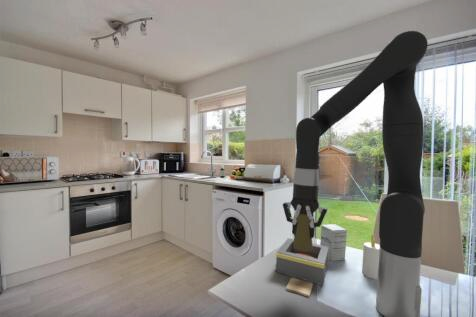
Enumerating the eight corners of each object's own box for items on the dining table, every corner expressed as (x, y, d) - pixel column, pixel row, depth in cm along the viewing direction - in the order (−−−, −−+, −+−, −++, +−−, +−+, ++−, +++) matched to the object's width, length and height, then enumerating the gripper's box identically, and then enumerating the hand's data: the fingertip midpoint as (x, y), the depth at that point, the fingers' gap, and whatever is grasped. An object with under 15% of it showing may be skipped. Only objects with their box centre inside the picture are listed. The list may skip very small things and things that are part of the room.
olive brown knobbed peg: (313, 252, 68) (315, 216, 68) (293, 249, 70) (294, 214, 69) (311, 244, 74) (313, 211, 74) (292, 242, 76) (294, 209, 75)
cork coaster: (312, 285, 74) (312, 283, 74) (309, 297, 68) (309, 295, 68) (291, 279, 77) (291, 277, 77) (286, 289, 71) (286, 287, 71)
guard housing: (327, 264, 89) (328, 246, 89) (323, 285, 74) (324, 264, 74) (286, 254, 96) (287, 238, 96) (275, 272, 81) (276, 252, 81)
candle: (386, 276, 82) (388, 235, 81) (375, 280, 79) (377, 237, 78) (369, 268, 87) (371, 229, 87) (358, 271, 84) (360, 231, 84)
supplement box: (319, 253, 99) (320, 224, 98) (333, 252, 101) (334, 223, 101) (330, 261, 92) (332, 230, 91) (345, 259, 94) (347, 229, 94)
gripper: (331, 184, 72) (328, 238, 72) (286, 179, 78) (283, 229, 78) (329, 186, 65) (325, 246, 65) (280, 181, 71) (277, 236, 72)
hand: (302, 236), depth 72 cm, fingers closed on olive brown knobbed peg, 4 cm apart
